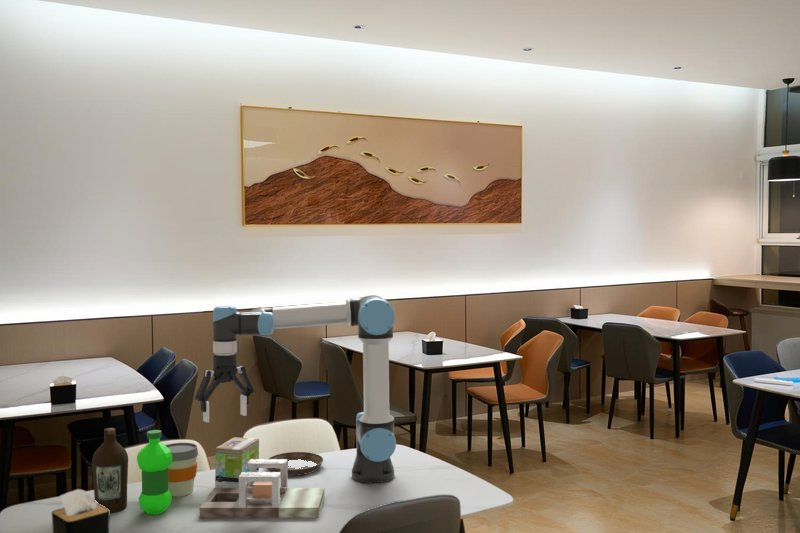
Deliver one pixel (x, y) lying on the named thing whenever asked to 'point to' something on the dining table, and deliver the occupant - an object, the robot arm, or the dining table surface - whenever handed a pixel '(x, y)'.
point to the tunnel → (264, 477)
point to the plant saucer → (296, 456)
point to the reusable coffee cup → (182, 468)
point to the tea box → (234, 461)
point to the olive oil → (110, 473)
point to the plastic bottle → (154, 474)
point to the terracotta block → (262, 490)
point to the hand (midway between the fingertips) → (225, 418)
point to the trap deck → (292, 504)
